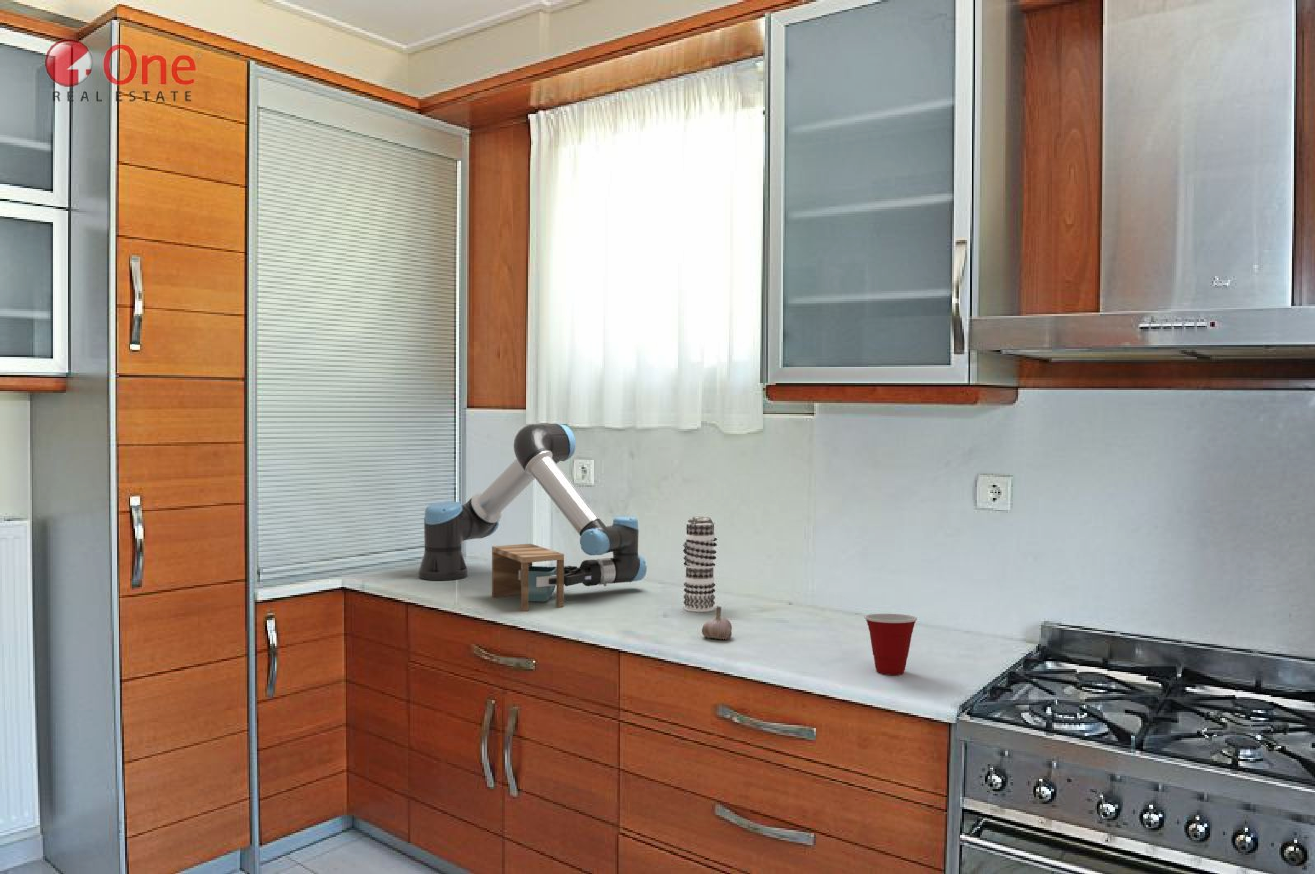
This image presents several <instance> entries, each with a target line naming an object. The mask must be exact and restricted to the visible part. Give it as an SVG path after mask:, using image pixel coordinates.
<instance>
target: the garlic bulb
mask: <svg viewBox="0 0 1315 874" xmlns="http://www.w3.org/2000/svg"><path fill="white" fill-rule="evenodd" d="M715 609H716V611H715V618H713V619H712V620H708V621H706V622H705V623H704V624H703V626H702V629H701V634H702V636H703V637H704V638H706V637H707V639H710V638H715V639H714V640H722V639H723V640H724V639H725V640H724V641H729V640H730V639H731V638H732V634H733V633H732V630H733V626H732V623H731V622H730V620H729V619H728V618H724V617H722V606H720V605H716V607H715Z"/></svg>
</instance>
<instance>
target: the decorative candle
mask: <svg viewBox="0 0 1315 874" xmlns="http://www.w3.org/2000/svg"><path fill="white" fill-rule="evenodd" d="M685 524H686V530H685V531H686V533H685V541H684V542H683V545H682V546H683V547H684V549H682V551H683V553H684V554H685V555H684V556H683V560H684V562H683V566H684V567H685V577H684V581H685V582H684V583H683V587H685V588H684V589H683V591H684V593H685V594H684V595H683V599H684V600H683V602H682V603H683V604H684V606H683V609H684V610H686V611H688V612H696V613H697V612H698V613H705V612H712V611H715V609H716V607H715V604H716V601H715V599H716V596H715V595H714V593H715V592H716V589H715V588H714V587H715V586H716V583H714V582H715V577H714V568H715V567H716V563H714V560H716V559H717V557H716V556H715V554H716V553H717V551H716V549H714V547H716V546H718V543H716V541H717V540H718V538H716V537H715V522H713V520H712V519H711V518H710V517H708V516H691V517H690V518H689V517H688V520H687V521H686V522H685Z"/></svg>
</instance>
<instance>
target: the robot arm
mask: <svg viewBox="0 0 1315 874" xmlns="http://www.w3.org/2000/svg"><path fill="white" fill-rule="evenodd" d="M514 437H515V438H514V442H513V452H514V455H515V457H516V459H515V460H514V461H512V463H510V465H508V467H507V468H506V469H505V470H504V471H503V472H502V473H500V475H499V476H498V477H497V478H496V479H495V480H494V481H493V482H492V483H491V484H490V485H489V486H488V487H487V488H486V489H485V490H484V491H483V492H482V493H475V494H474V495H472V497H471V498H469V500H467V502H465V503H464V504H462V503H461V502H459V501H444V502H441V501H440V502H437V503H433V504H430V505H428V506H427V507H426V508H425V510H424V518H423V522H424V525H423V528H424V531H423V532H424V534H423V535H424V553H423V557H422V559H421V561H420V566H419V568H418V578H420V579H422V580H426V581H427V580H429V581H453V580H459V579H460V580H461V579H464V578H466V577H467V576H468V567H467V563H466V561H465V558H464V555H463V552H462V548H463V547H462V546H463V545H462V544H463V543H462V542H463V541H469V540H474V539H475V540H476V539H477V540H478V539H480V540H481V539H484V538H487V537H490V536H492V535H493V534H494V533H495V532H496V531H497V529H498V528H499V525H500V523H499V522H500V519H501V518H502V512H503V511H504V509H506V508H507V507H508V506H509V505H510V504H511V503H512V502H513V501H514V500H515V499H516V498H517V497H518V496H519V495H520V494H521V493H522V492H523V491H524V490H525V489H526V488H527V487H528V486H529V485H530V484H531V483H532V482H533V481H534V480H536V482H537V483H538V484H539V485H540V486H541V487H542V489H543V490H544V491H545V493H546V494H547V495H548V497H549V498H550V499H551V500H552V502H553V504H555V506H557V508H558V509H559V511H560V512H561V513H562V515H564V517H565V518H566V519H567V521H568V522H569V523H570V525H571V526H572V528H574V530H575V531H576V533H577V534H578V535H579V537H580V538H579V544H580V548H581V550H582V552H584V553H585V554H586V555H588V556H602V555H604V554H609V553H612V557H605V558H596V559H585V560H583V561H581V563H580V566H579V567H578V566H572V565H567V566H565V565H564V586H565V587H569V586H574V585H578V584H582V585H583V586H585V587H593V586H601V585H603V587H607V585H609V584H622V583H632V582H637V581H642V580H644V578H645V577H646V575H647V569H648V566H647V565H646V563H647V562H646V560H645V558H644V557H643V556H642V555H639V532H640V531H639V520H638V518H637V517H634V516H627V515H626V516H625V515H624V516H615V517H614V518H613V520H612V524H611V525H608V526H607V525H605V523H604V522H603V521H602V520H601V519H600V518H599V516H598V515H597V514H596V512H595V511H594V510H593V509H592V507H591V506H590V505H589V503H588V501H586V500H585V498H584V497H583V496H582V495H581V493H580V492H579V491H578V489H577V488H576V487H575V485H573V483H572V482H571V480H570V479H569V478H568V477H567V475H566V474H565V473H564V472H563V470H562V469H561V467H560V466H559V465H558V463H559V462H565V461H567V460H569V459H571V458H572V457H573V456H574V454H575V451H576V448H577V446H576V443H577V442H576V437H575V434H574V433H573V431H572V430H571V428H570V427H568V426H567V425H565V424H562V423H545V424H544V423H543V424H542V423H541V424H535V423H533V424H529V425H525V426H523V427H522V428H521V429H520V430H518V431H517V433H516V435H515V436H514ZM519 580H521V570H519ZM556 582H557V575H552V576H541V577H536V587H544V586H554V585H555V586H556Z"/></svg>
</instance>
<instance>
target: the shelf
mask: <svg viewBox="0 0 1315 874" xmlns="http://www.w3.org/2000/svg"><path fill="white" fill-rule="evenodd" d="M553 561H556V567H557V582H556V585H555V589H556V594H555V596H556V597H555V598H556V602H555V606H556V607H557V606H558V607H557V608H562V607H561V606H564V603H565V602H564V601H565V597H564V595H565V593H564V592H565V587H564V586H565V585H564V566H565V553H563V552H562V553H561V552H559V551H555V550H553V549H552V550H551V549H548V548H545V547H543V546H539V545H535V544H532V543H523V544H507V545H496V546H495V545H494V546H491V597H492V598H500V597H499V596H503V597H512V596H517V595H518V596H520V611H521V612H528V611H529V600H528V579H529V566H533V563H538V562H553ZM519 570H521V580H519ZM564 607H565V606H564Z"/></svg>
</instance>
